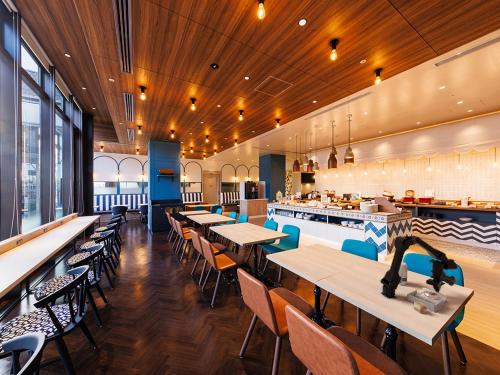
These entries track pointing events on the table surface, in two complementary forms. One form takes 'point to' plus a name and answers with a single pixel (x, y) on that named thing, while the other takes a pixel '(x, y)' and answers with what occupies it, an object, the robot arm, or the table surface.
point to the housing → (425, 302)
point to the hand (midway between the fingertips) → (437, 293)
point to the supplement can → (403, 273)
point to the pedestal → (420, 307)
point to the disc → (431, 295)
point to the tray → (440, 297)
